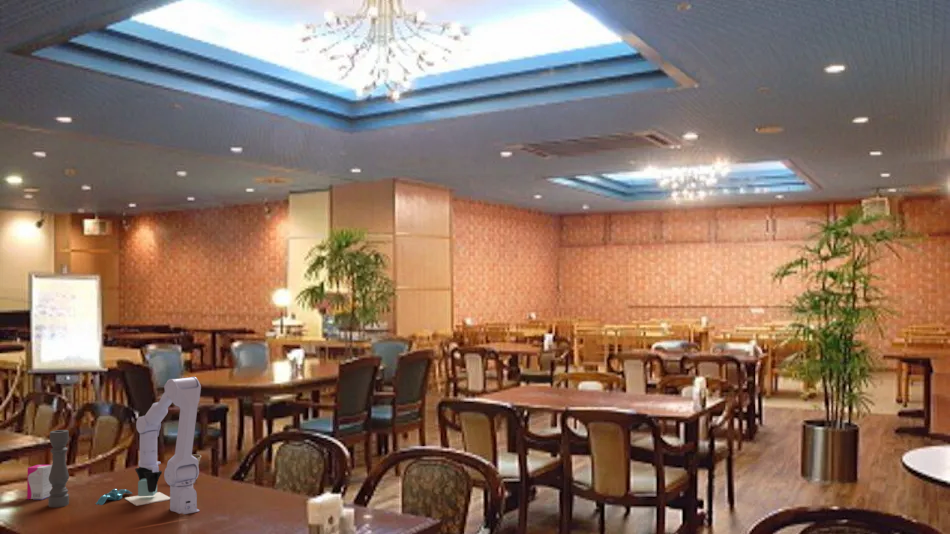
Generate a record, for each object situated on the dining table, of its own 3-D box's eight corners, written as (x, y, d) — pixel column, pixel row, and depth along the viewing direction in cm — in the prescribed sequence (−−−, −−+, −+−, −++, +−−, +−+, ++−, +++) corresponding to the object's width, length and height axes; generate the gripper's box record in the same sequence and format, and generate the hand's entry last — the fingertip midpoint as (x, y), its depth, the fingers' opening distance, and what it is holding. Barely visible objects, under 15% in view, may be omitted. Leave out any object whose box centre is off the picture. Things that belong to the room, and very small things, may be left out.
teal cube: (153, 495, 275) (153, 481, 275) (138, 496, 275) (138, 481, 275) (157, 492, 280) (157, 477, 280) (142, 492, 280) (142, 478, 280)
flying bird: (120, 494, 286) (120, 483, 286) (136, 495, 284) (136, 484, 284) (88, 504, 272) (88, 493, 272) (104, 506, 270) (104, 494, 270)
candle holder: (60, 508, 266) (60, 433, 267) (44, 507, 268) (44, 432, 268) (73, 503, 272) (73, 430, 273) (57, 502, 274) (57, 429, 274)
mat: (171, 499, 277) (171, 498, 277) (136, 505, 269) (136, 504, 269) (159, 493, 286) (159, 491, 286) (124, 498, 278) (124, 497, 278)
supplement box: (52, 496, 282) (53, 464, 282) (42, 501, 276) (42, 467, 276) (37, 496, 282) (37, 463, 283) (26, 500, 277) (26, 467, 277)
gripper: (167, 452, 275) (167, 491, 275) (152, 446, 286) (152, 484, 286) (146, 454, 271) (146, 495, 270) (132, 448, 281) (132, 487, 281)
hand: (148, 489), depth 278 cm, fingers closed on teal cube, 7 cm apart
